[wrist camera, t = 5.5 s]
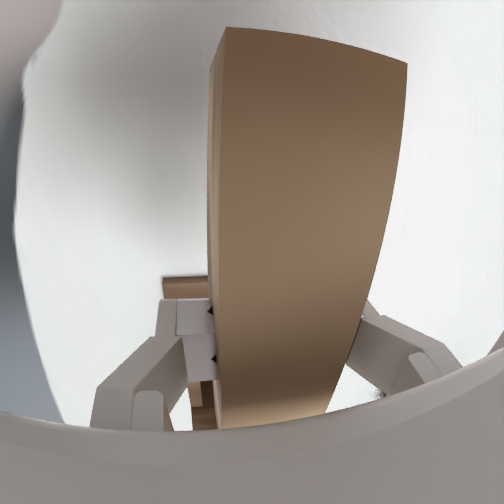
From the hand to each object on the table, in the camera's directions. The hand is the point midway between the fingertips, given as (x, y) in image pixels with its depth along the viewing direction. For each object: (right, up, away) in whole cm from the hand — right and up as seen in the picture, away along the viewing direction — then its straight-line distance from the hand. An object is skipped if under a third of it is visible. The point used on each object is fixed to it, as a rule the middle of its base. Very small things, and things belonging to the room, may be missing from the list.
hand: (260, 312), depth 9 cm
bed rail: (0, +1, +2) cm, 2 cm away
